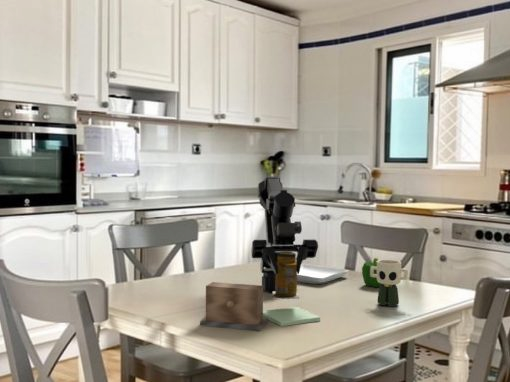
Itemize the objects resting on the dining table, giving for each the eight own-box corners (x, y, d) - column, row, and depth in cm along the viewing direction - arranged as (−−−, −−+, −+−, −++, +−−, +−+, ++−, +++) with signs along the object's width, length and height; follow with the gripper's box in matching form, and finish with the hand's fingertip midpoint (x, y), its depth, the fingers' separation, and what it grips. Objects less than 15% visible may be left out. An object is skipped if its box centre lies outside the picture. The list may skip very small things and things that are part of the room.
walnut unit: (199, 325, 147) (200, 286, 147) (210, 317, 155) (211, 280, 154) (259, 330, 143) (260, 291, 142) (267, 322, 151) (268, 284, 150)
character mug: (367, 305, 169) (368, 262, 168) (371, 300, 176) (372, 258, 175) (405, 309, 165) (406, 265, 165) (408, 303, 172) (409, 261, 171)
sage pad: (296, 310, 163) (297, 306, 163) (320, 320, 153) (320, 317, 153) (259, 314, 158) (259, 311, 158) (280, 326, 147) (280, 322, 147)
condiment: (297, 292, 165) (298, 251, 164) (299, 299, 156) (299, 255, 156) (272, 292, 165) (272, 250, 164) (272, 299, 157) (272, 255, 156)
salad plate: (300, 271, 224) (300, 262, 223) (350, 278, 211) (350, 269, 211) (270, 280, 206) (270, 270, 206) (322, 288, 194) (322, 278, 194)
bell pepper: (363, 282, 202) (363, 254, 202) (386, 284, 200) (387, 255, 199) (360, 287, 194) (360, 258, 194) (385, 289, 192) (385, 259, 191)
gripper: (252, 211, 162) (256, 256, 152) (317, 211, 164) (325, 256, 154) (249, 235, 171) (253, 279, 160) (311, 235, 173) (318, 279, 162)
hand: (287, 273), depth 159 cm, fingers closed on condiment, 6 cm apart
